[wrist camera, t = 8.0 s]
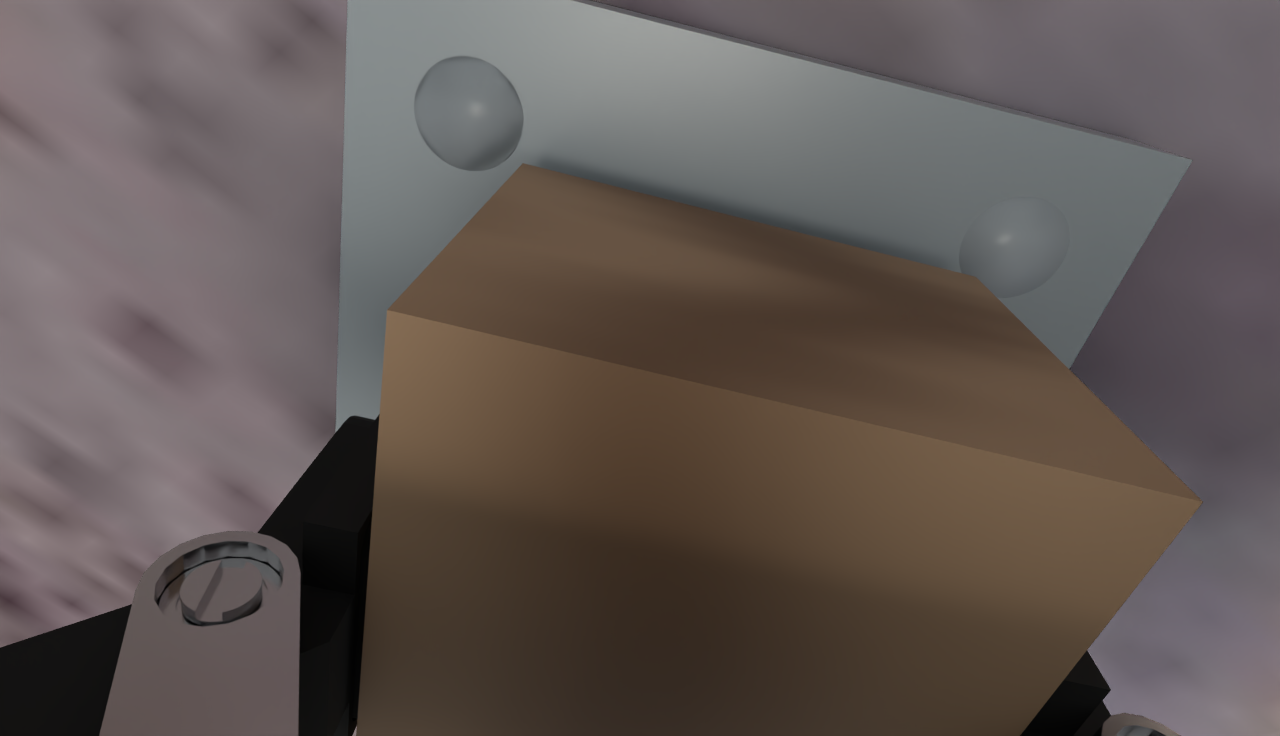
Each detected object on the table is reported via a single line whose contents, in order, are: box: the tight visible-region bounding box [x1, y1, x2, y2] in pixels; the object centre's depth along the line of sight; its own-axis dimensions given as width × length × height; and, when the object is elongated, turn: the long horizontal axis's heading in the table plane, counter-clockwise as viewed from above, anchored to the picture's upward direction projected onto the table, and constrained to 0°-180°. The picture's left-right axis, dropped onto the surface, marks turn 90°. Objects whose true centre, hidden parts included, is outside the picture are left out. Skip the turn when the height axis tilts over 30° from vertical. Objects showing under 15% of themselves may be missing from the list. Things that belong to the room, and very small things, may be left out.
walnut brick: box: [356, 163, 1203, 736], centre depth 10 cm, size 6×8×5 cm
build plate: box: [336, 0, 1193, 432], centre depth 13 cm, size 12×12×2 cm
